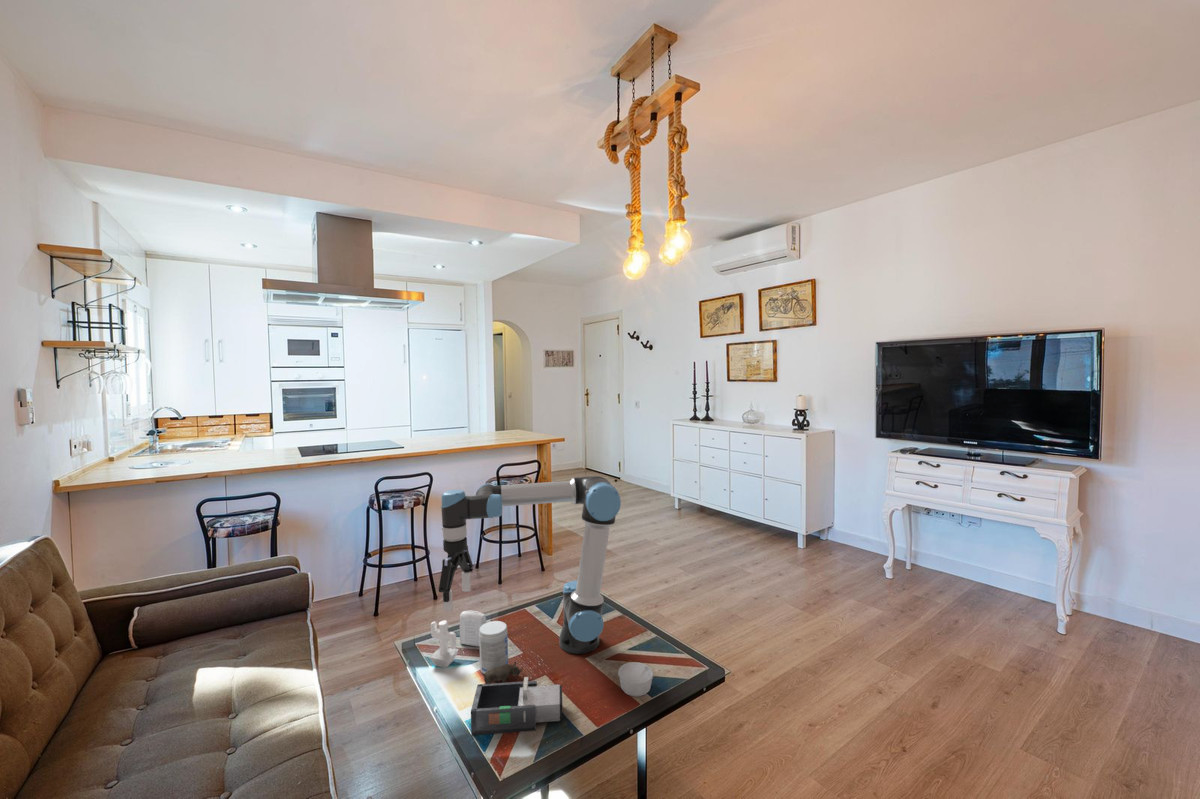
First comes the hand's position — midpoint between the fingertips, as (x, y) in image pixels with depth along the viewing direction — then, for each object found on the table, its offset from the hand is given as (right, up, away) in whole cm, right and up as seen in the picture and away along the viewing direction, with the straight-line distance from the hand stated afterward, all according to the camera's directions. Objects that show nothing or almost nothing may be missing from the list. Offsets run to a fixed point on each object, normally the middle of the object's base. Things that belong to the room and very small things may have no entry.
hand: (457, 600), depth 163 cm
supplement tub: (+11, -27, +7) cm, 29 cm away
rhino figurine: (+15, -27, -1) cm, 31 cm away
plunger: (+30, -26, -17) cm, 43 cm away
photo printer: (-1, -26, +23) cm, 34 cm away
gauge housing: (+19, -28, -18) cm, 38 cm away
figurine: (-8, -27, +10) cm, 30 cm away
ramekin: (+59, -27, -4) cm, 65 cm away
